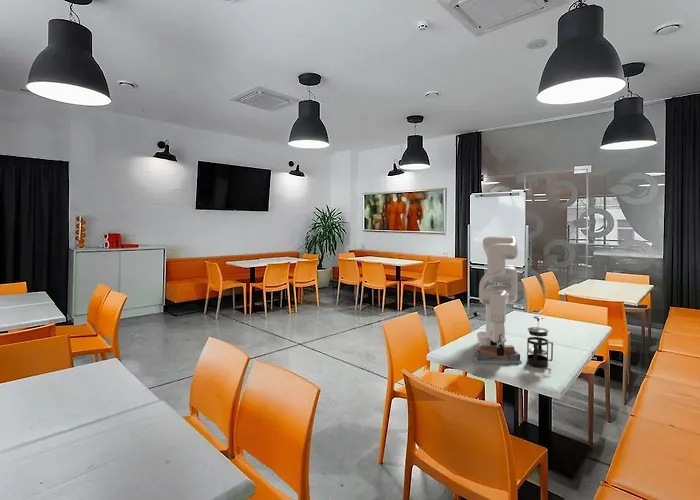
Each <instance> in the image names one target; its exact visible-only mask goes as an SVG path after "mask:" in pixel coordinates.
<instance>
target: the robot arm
mask: <svg viewBox="0 0 700 500" xmlns="http://www.w3.org/2000/svg"><path fill="white" fill-rule="evenodd" d="M482 248H483V250H484V253H485V255H486V258H487V262H486V263H487V267H486V269H487V272H486V273H485V274H483V276H482V277H481V279H480V281H479V285H478V298H479V300H478V301H479V302H480V303H481V304H483V305H485V310H486V311H485V332H489V338H490V345H497V346H498V347H497V356H504V345H505V342H506V341H507V337H506V334H505V333H506V331H505V323H506V319H507V318H506V315H507V314H506V313H507V311H506V310H507V309H506V308H507V304H508V303H515V302H516V301H517V300H518V279H519V278H518V271H517V268H516V267H514V266H506V260H515V259H517V258H518V253H519V252H518V251H519V250H518V243H517V239H516V238H515V237H514V236H486V237H484V238H483V239H482ZM487 282H490V283H493V284H490V285H487V286H486V284H487ZM494 283H495V284H494ZM498 284H499V285H498ZM500 284H504V285H500ZM505 284H507V285H505Z"/></svg>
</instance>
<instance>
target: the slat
mask: <svg viewBox="0 0 700 500" xmlns="http://www.w3.org/2000/svg"><path fill="white" fill-rule="evenodd" d="M478 346H479V349H478V350H479V353H480V354H489V359H509V354H514V350H515V346H514V345H513V344H512V345H510V344H504V356H497V347H498V346H497V345H479V344H478Z"/></svg>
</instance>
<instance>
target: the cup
mask: <svg viewBox="0 0 700 500" xmlns="http://www.w3.org/2000/svg"><path fill="white" fill-rule="evenodd" d="M476 338H477V341H478V346H479V345H490V338H489V332H486V331H478V332H477V333H476Z"/></svg>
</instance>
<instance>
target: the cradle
mask: <svg viewBox="0 0 700 500" xmlns="http://www.w3.org/2000/svg"><path fill="white" fill-rule="evenodd" d="M472 358H473V359H474V361H475V362H476V363H477V364H523V363H522V362H523V360H521V353H520V352H518V351H517V350H515V349H514V354H509V359H489V354H480V353H479V349H475V350H474V354H473V355H472Z"/></svg>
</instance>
